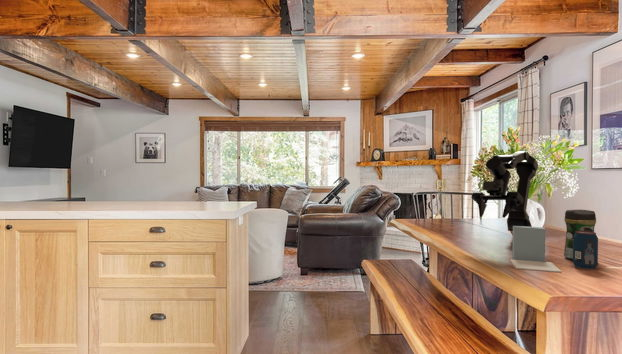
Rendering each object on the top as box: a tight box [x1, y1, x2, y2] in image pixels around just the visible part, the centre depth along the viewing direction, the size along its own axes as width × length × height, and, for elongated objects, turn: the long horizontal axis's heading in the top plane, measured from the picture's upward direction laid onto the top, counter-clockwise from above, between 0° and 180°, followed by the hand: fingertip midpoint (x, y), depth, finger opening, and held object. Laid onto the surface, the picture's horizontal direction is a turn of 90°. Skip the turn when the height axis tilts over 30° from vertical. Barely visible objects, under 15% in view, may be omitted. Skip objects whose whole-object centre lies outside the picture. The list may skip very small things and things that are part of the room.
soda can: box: [572, 231, 599, 271], centre depth 134 cm, size 7×7×12 cm
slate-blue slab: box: [511, 226, 546, 262], centre depth 146 cm, size 4×10×12 cm, turn 71°
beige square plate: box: [509, 258, 562, 273], centre depth 135 cm, size 14×13×1 cm
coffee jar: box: [563, 209, 597, 261], centre depth 148 cm, size 10×8×19 cm
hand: (491, 216), depth 156 cm, fingers open, 9 cm apart
